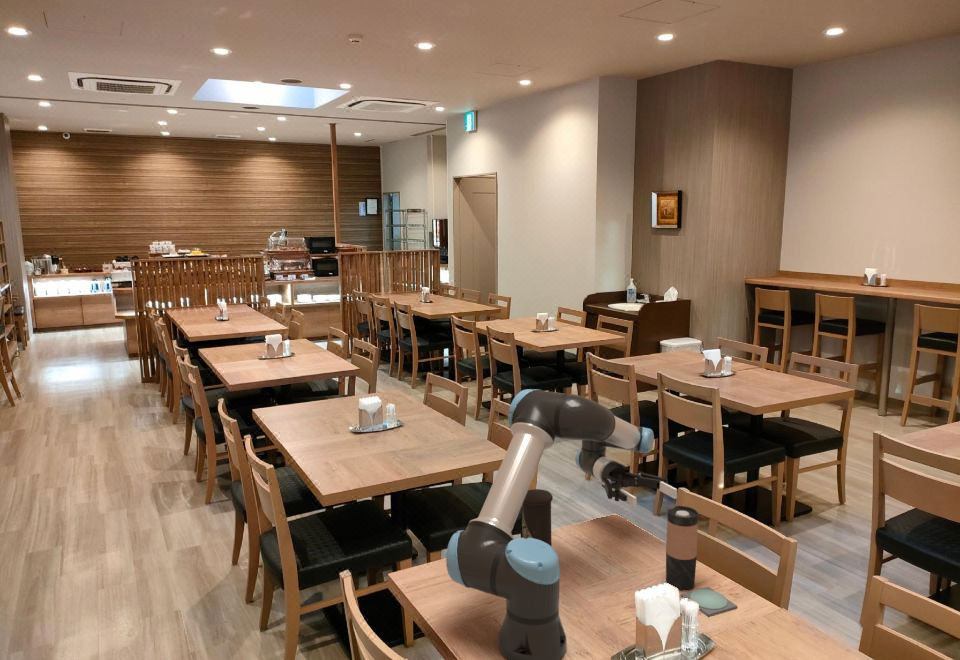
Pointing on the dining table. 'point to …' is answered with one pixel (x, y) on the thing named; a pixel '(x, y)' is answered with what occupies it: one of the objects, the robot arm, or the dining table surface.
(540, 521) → the container
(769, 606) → the dining table surface
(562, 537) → the dining table surface
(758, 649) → the dining table surface
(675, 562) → the travel mug
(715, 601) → the coaster
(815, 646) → the dining table surface
